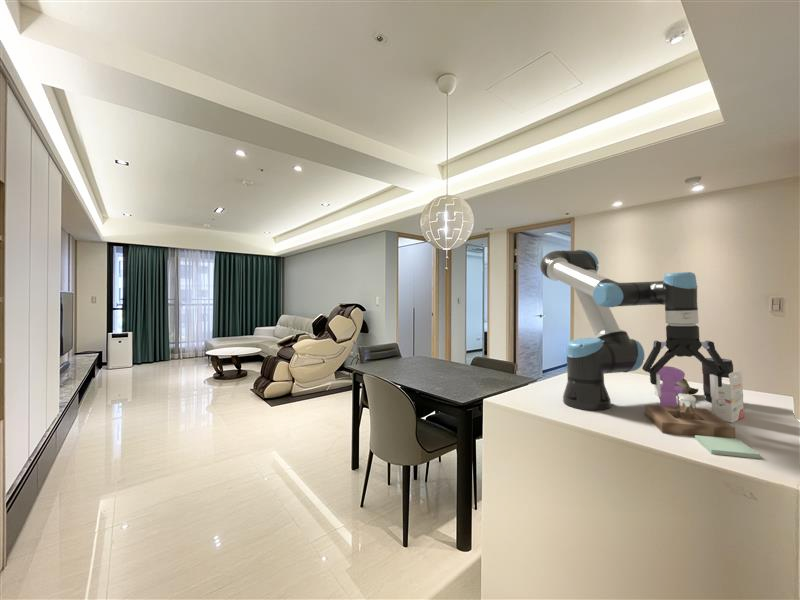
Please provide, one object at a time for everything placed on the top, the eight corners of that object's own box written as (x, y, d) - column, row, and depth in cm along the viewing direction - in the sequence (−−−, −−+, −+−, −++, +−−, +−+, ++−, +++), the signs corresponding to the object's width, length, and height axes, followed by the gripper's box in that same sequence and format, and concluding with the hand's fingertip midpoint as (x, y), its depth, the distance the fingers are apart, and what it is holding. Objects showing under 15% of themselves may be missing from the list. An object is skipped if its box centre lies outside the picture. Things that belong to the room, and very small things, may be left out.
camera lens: (721, 398, 123) (719, 357, 123) (741, 405, 115) (739, 361, 115) (697, 398, 124) (695, 357, 124) (715, 405, 116) (713, 361, 116)
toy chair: (687, 408, 115) (685, 364, 115) (685, 415, 108) (684, 368, 108) (656, 403, 120) (654, 361, 120) (653, 410, 114) (651, 366, 114)
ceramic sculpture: (651, 373, 129) (666, 369, 137) (651, 396, 128) (666, 391, 137) (686, 378, 120) (700, 374, 128) (686, 403, 120) (700, 397, 128)
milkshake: (670, 423, 103) (669, 390, 103) (686, 421, 103) (685, 389, 103) (684, 428, 98) (682, 394, 98) (701, 427, 99) (700, 393, 98)
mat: (711, 453, 83) (711, 449, 83) (695, 438, 91) (694, 435, 91) (760, 458, 80) (759, 454, 80) (738, 442, 88) (738, 439, 88)
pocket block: (662, 432, 96) (662, 422, 96) (644, 413, 111) (644, 404, 111) (735, 439, 90) (734, 427, 90) (706, 418, 105) (706, 408, 105)
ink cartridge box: (723, 413, 109) (721, 367, 109) (744, 417, 105) (742, 370, 104) (711, 418, 105) (709, 371, 105) (732, 423, 101) (730, 373, 101)
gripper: (635, 326, 101) (639, 397, 101) (744, 325, 92) (748, 403, 92) (628, 324, 108) (632, 391, 108) (729, 323, 99) (732, 395, 99)
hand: (685, 396), depth 100 cm, fingers open, 13 cm apart
